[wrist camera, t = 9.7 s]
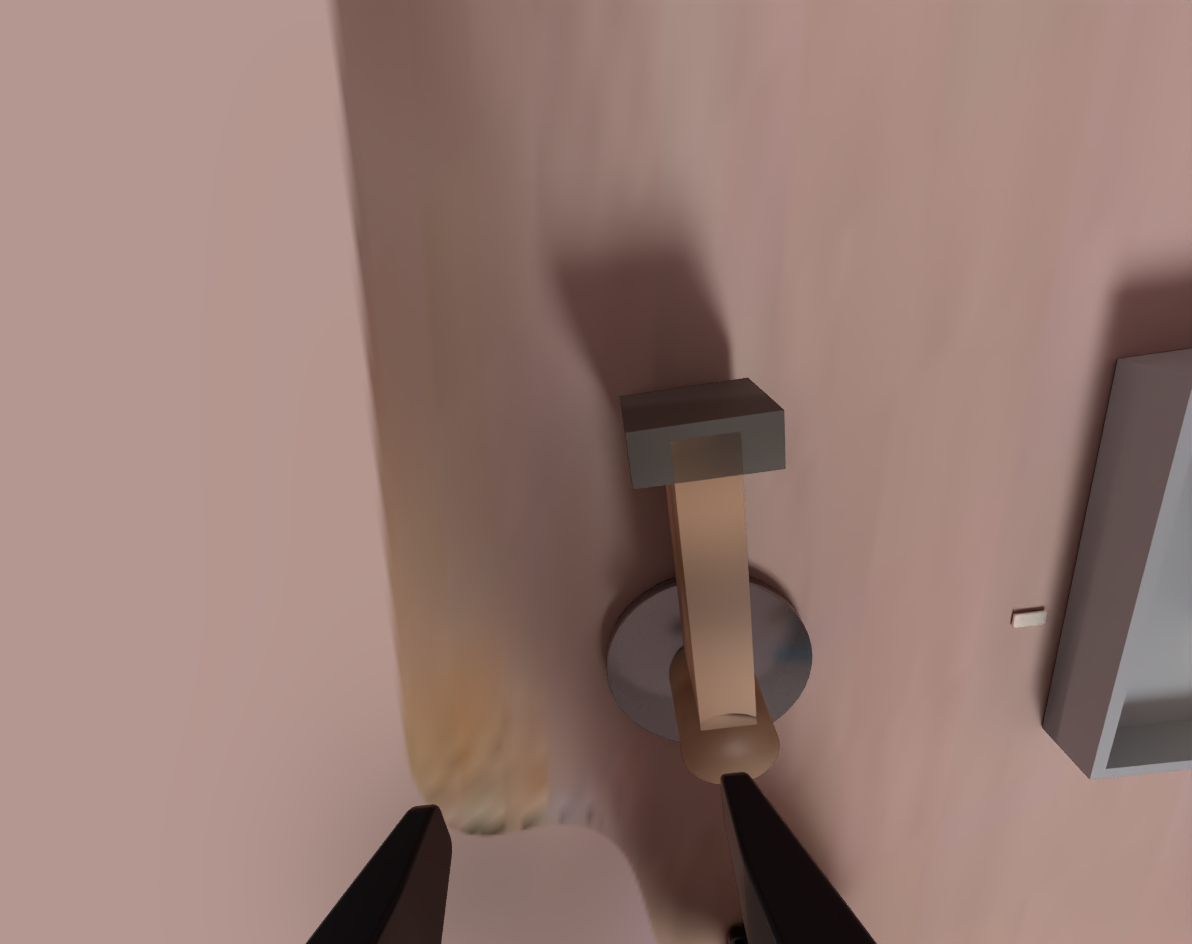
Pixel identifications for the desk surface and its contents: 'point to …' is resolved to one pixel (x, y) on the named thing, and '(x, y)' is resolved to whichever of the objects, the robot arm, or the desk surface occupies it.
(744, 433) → the crank lever
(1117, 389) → the stop tray
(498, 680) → the desk surface
